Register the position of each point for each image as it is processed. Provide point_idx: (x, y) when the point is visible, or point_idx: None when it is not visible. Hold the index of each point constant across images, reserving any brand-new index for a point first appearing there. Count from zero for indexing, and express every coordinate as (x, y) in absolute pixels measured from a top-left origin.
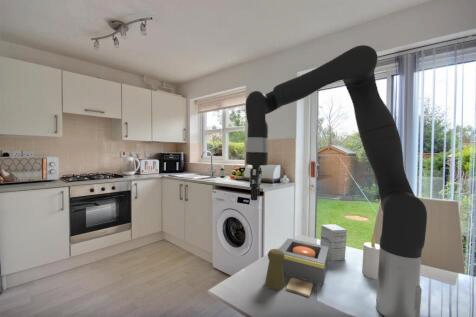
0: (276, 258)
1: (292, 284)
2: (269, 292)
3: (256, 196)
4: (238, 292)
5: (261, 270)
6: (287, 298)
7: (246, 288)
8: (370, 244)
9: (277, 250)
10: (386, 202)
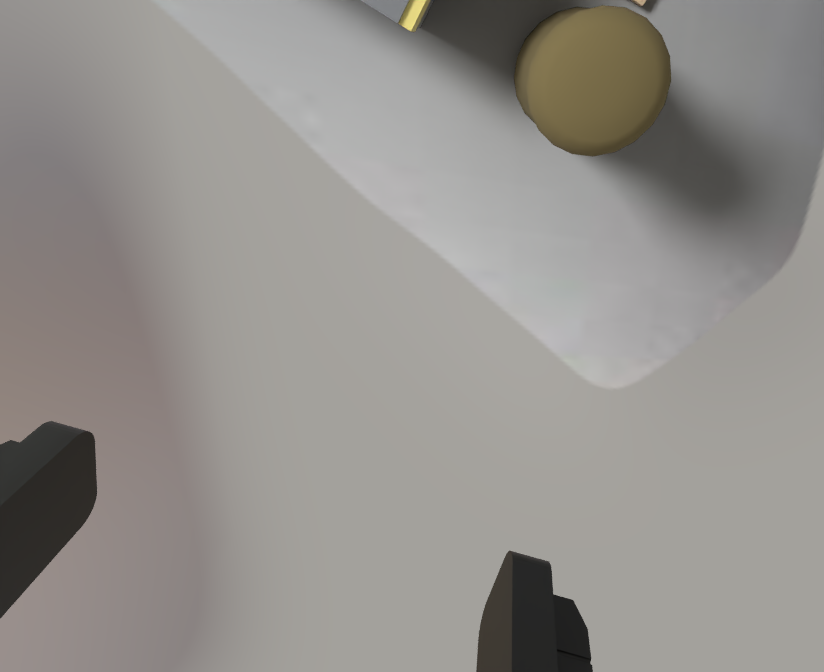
0: (666, 97)
1: None
2: None
3: (549, 626)
4: (629, 292)
5: (407, 129)
6: (727, 21)
7: (598, 248)
8: None
9: (602, 74)
10: None
